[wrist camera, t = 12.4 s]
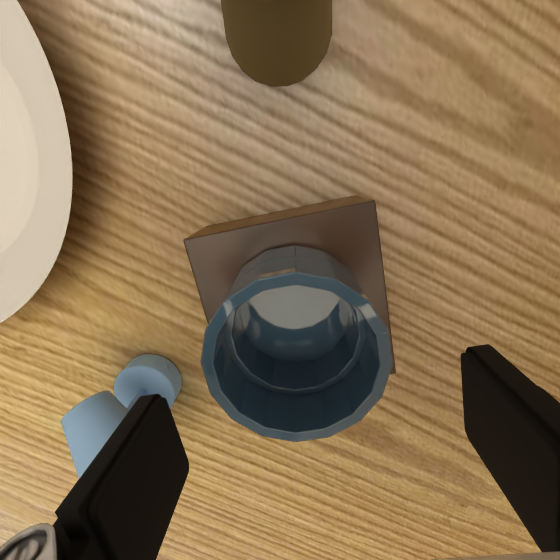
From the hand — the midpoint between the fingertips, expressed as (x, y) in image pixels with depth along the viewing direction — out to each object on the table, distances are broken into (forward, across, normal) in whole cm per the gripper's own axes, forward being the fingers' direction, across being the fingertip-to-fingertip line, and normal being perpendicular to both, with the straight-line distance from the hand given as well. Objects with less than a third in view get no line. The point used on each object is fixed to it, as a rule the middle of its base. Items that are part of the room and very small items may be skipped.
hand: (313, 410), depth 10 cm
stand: (+13, +1, 0) cm, 13 cm away
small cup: (+8, +1, 0) cm, 8 cm away
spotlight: (+13, +13, +6) cm, 19 cm away
